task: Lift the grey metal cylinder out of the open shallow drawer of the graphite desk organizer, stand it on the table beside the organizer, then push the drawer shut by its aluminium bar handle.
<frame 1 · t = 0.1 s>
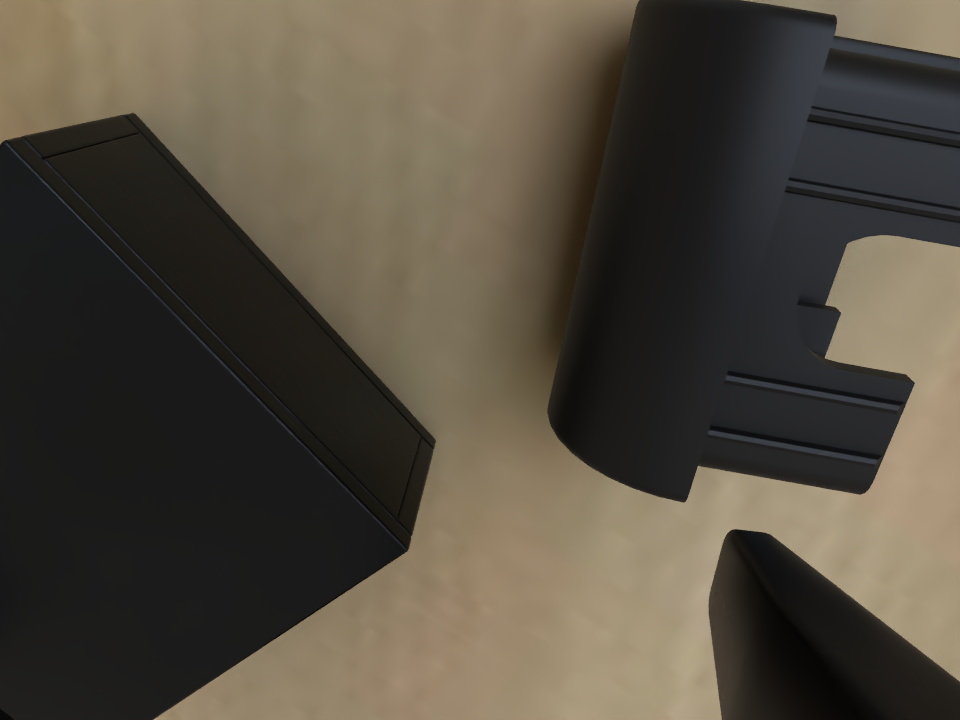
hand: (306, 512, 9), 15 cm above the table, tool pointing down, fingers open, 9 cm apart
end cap: (707, 217, 22), on the table
cabinet: (150, 410, 25), on the table
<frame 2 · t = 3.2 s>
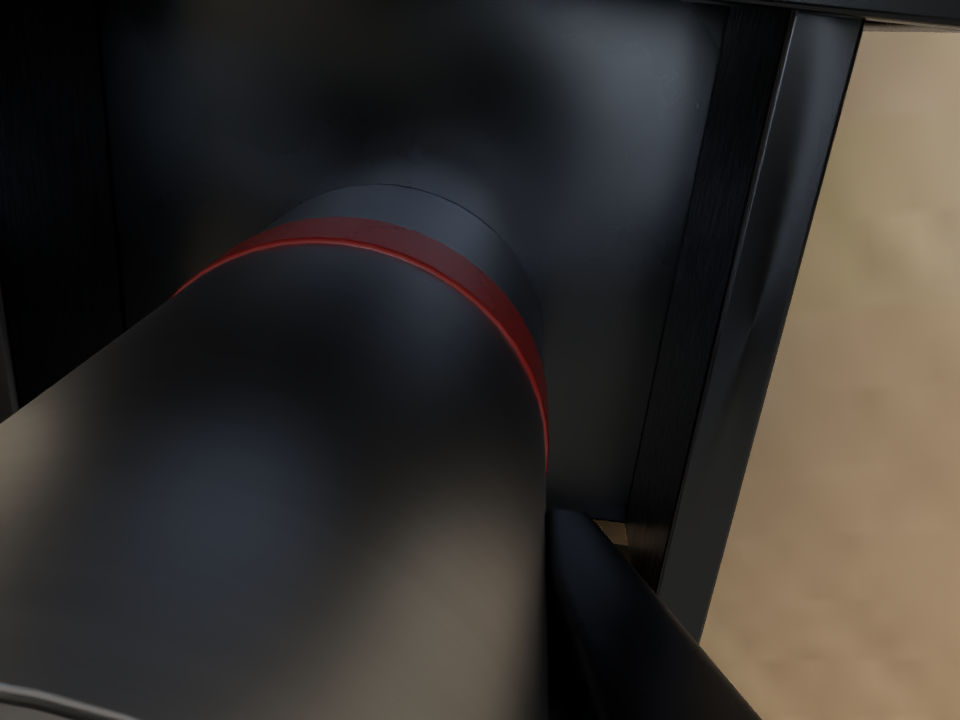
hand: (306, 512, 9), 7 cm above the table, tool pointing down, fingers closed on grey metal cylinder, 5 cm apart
drawer: (370, 437, 13), point 3 cm above the table, slide at 9.5 cm, touching grey metal cylinder
grey metal cylinder: (386, 341, 13), point 2 cm above the table, touching drawer, gripper
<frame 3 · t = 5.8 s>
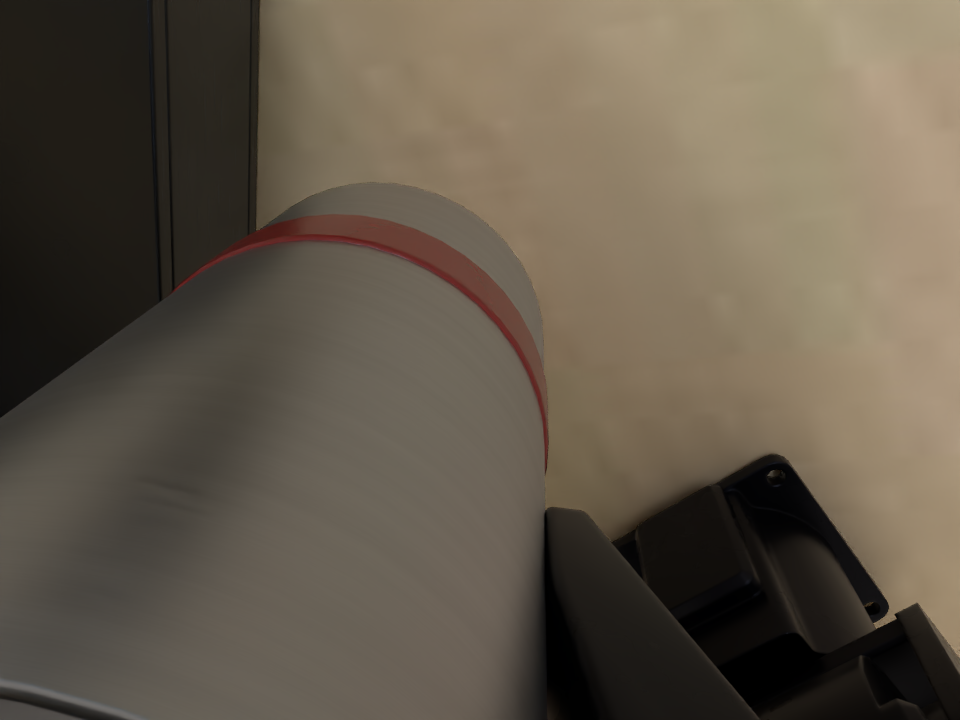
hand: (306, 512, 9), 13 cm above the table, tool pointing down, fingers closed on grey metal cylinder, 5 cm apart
grey metal cylinder: (386, 340, 13), point 8 cm above the table, touching gripper
cabinet: (19, 199, 21), on the table
when the fingers open (5 cm above the table, at t = 8.5 s): grey metal cylinder stays where it is, on the table.
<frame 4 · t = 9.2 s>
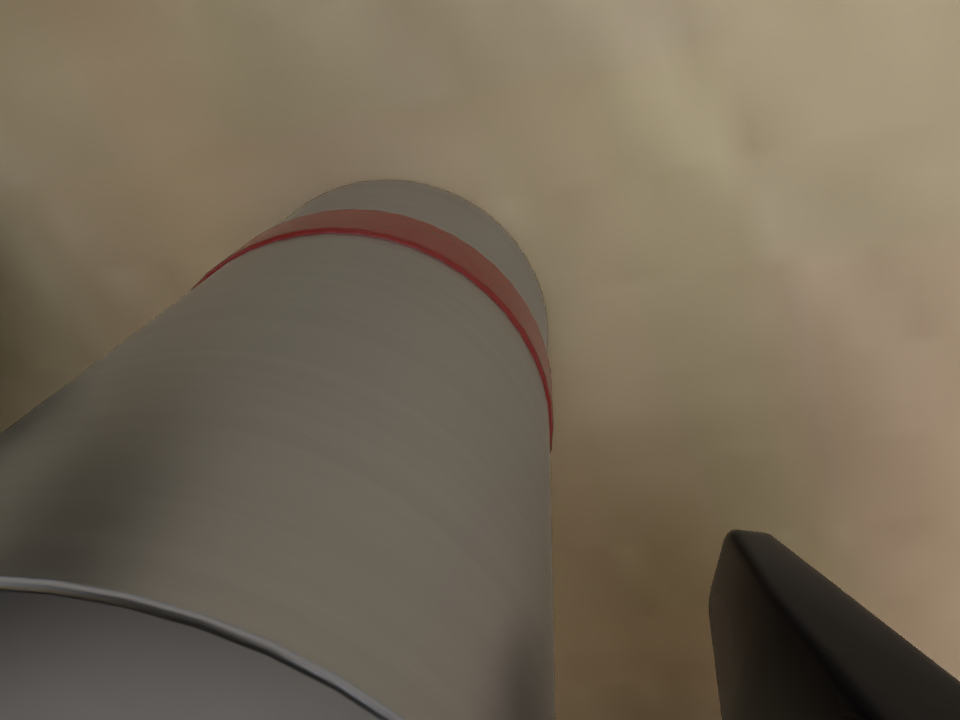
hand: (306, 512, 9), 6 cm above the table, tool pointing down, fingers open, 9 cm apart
grey metal cylinder: (396, 331, 14), on the table
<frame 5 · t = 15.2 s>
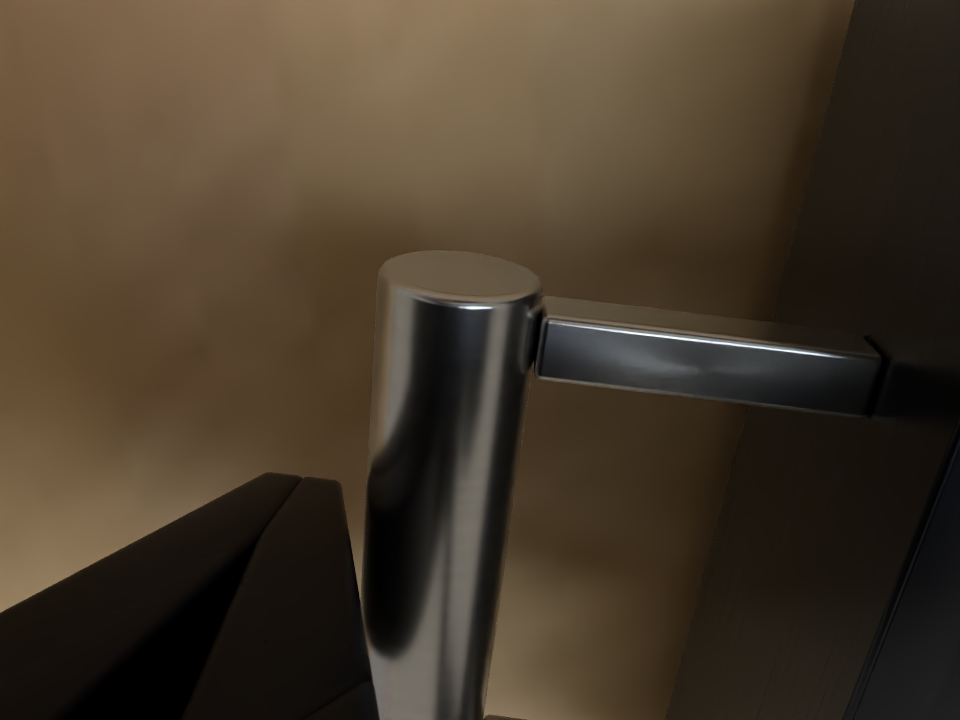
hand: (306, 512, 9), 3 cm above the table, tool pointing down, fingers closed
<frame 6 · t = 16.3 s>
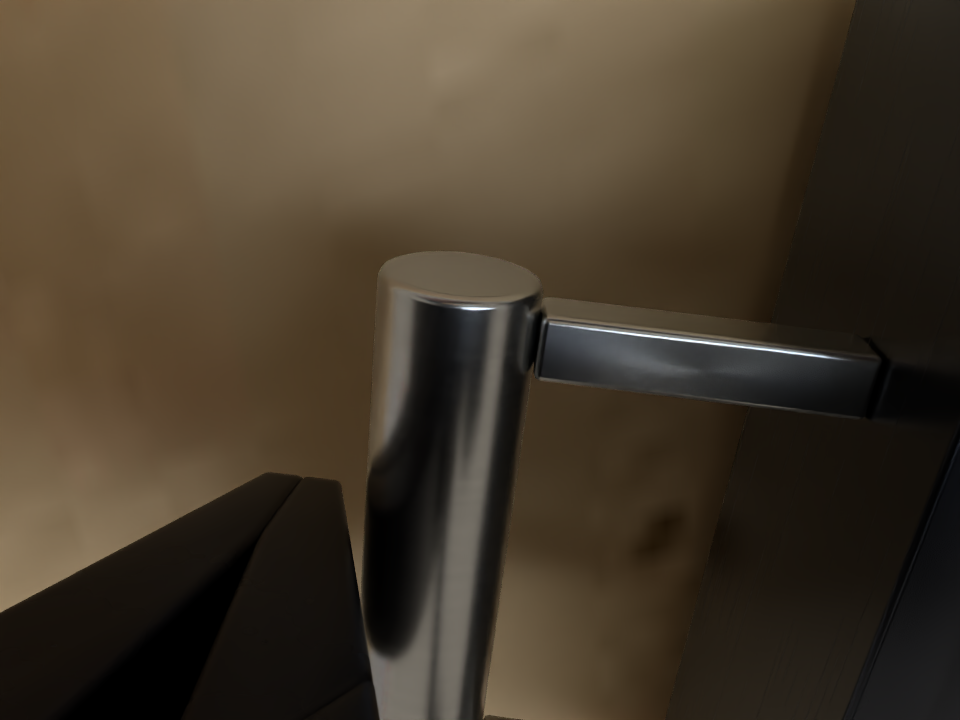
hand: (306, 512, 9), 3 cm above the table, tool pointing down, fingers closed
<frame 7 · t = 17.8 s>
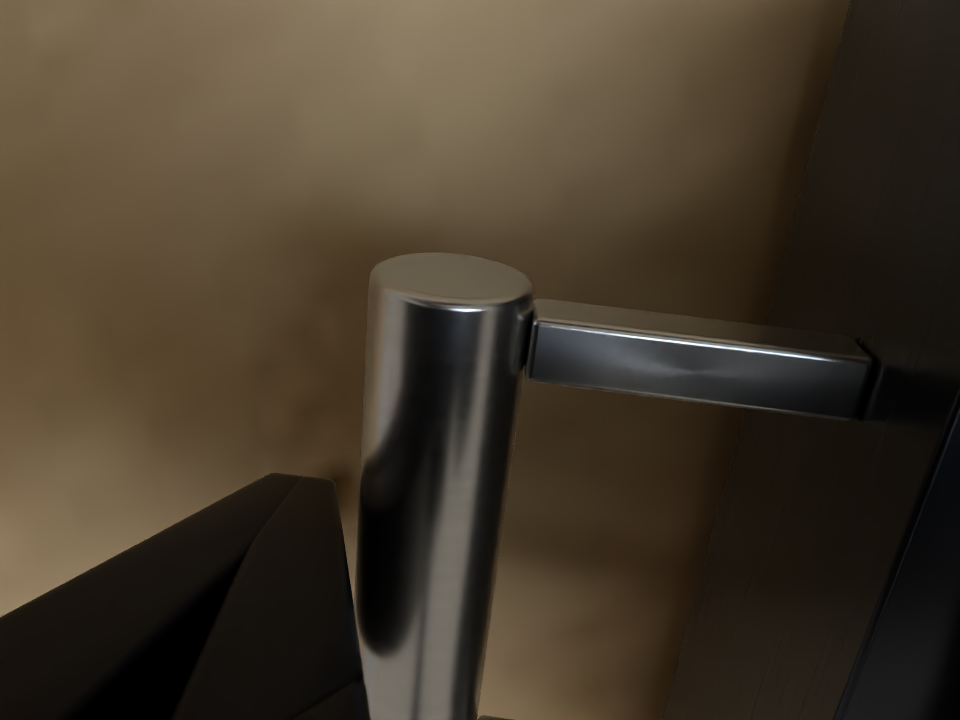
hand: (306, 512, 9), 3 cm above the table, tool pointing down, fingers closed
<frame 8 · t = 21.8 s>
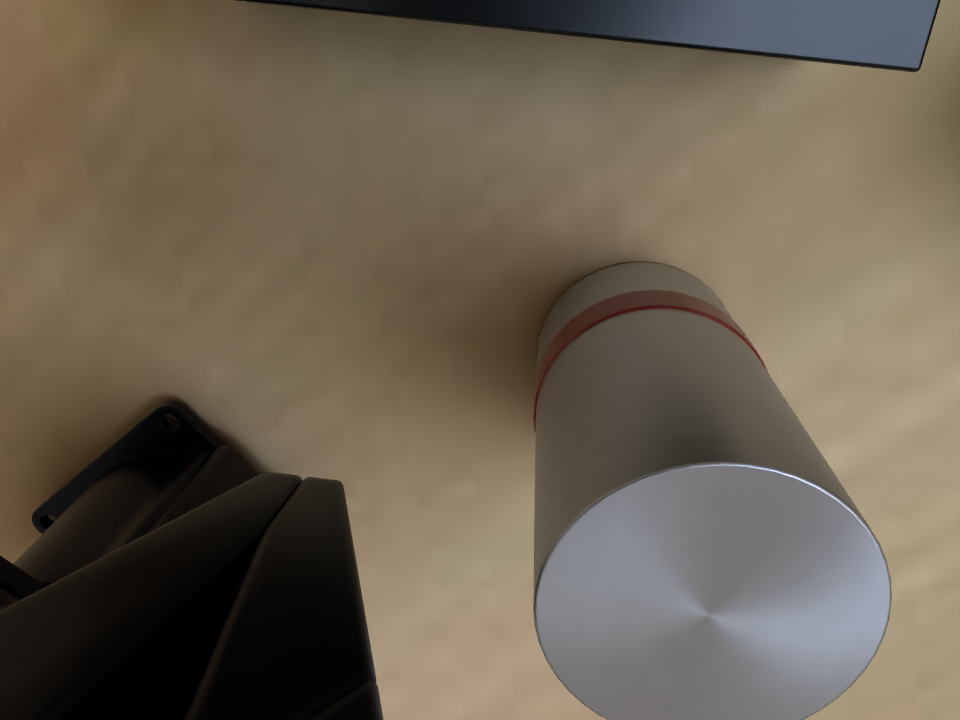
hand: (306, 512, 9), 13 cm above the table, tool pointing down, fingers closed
grey metal cylinder: (634, 356, 21), on the table
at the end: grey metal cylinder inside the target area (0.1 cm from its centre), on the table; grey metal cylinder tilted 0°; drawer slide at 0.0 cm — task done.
